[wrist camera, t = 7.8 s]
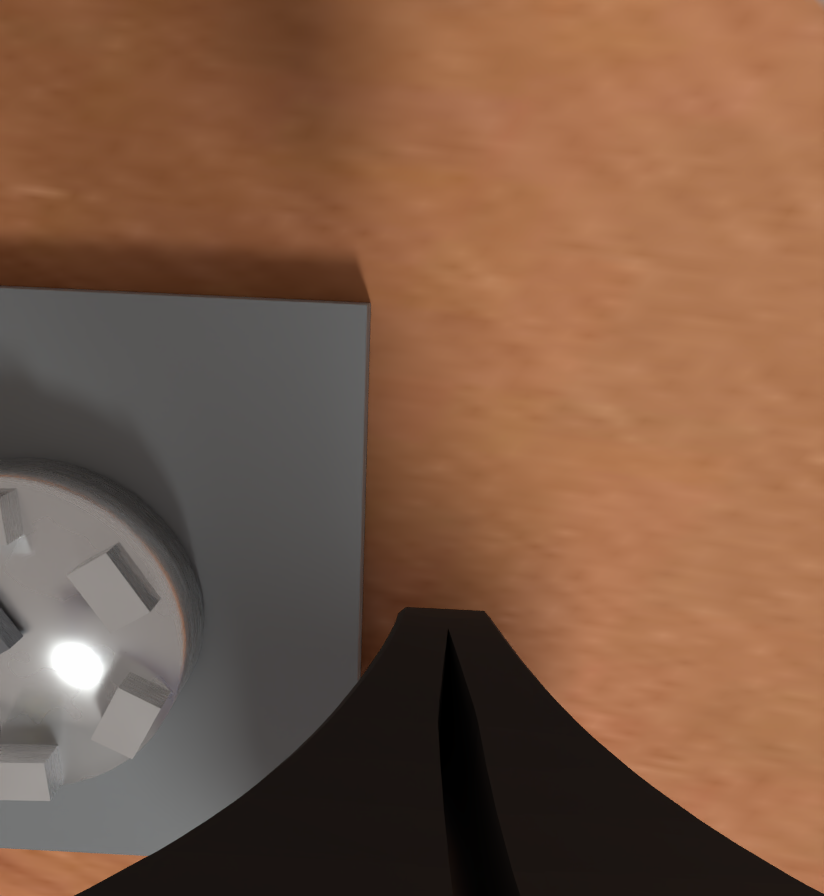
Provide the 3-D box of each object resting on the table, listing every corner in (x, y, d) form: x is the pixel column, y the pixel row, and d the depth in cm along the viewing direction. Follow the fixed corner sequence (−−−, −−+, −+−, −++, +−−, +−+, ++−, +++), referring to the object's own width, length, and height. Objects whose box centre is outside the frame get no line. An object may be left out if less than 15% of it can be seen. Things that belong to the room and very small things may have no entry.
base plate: (356, 836, 23) (352, 869, 21) (-162, 808, 23) (-196, 840, 22) (371, 302, 18) (366, 305, 17) (-281, 272, 18) (-334, 272, 17)
